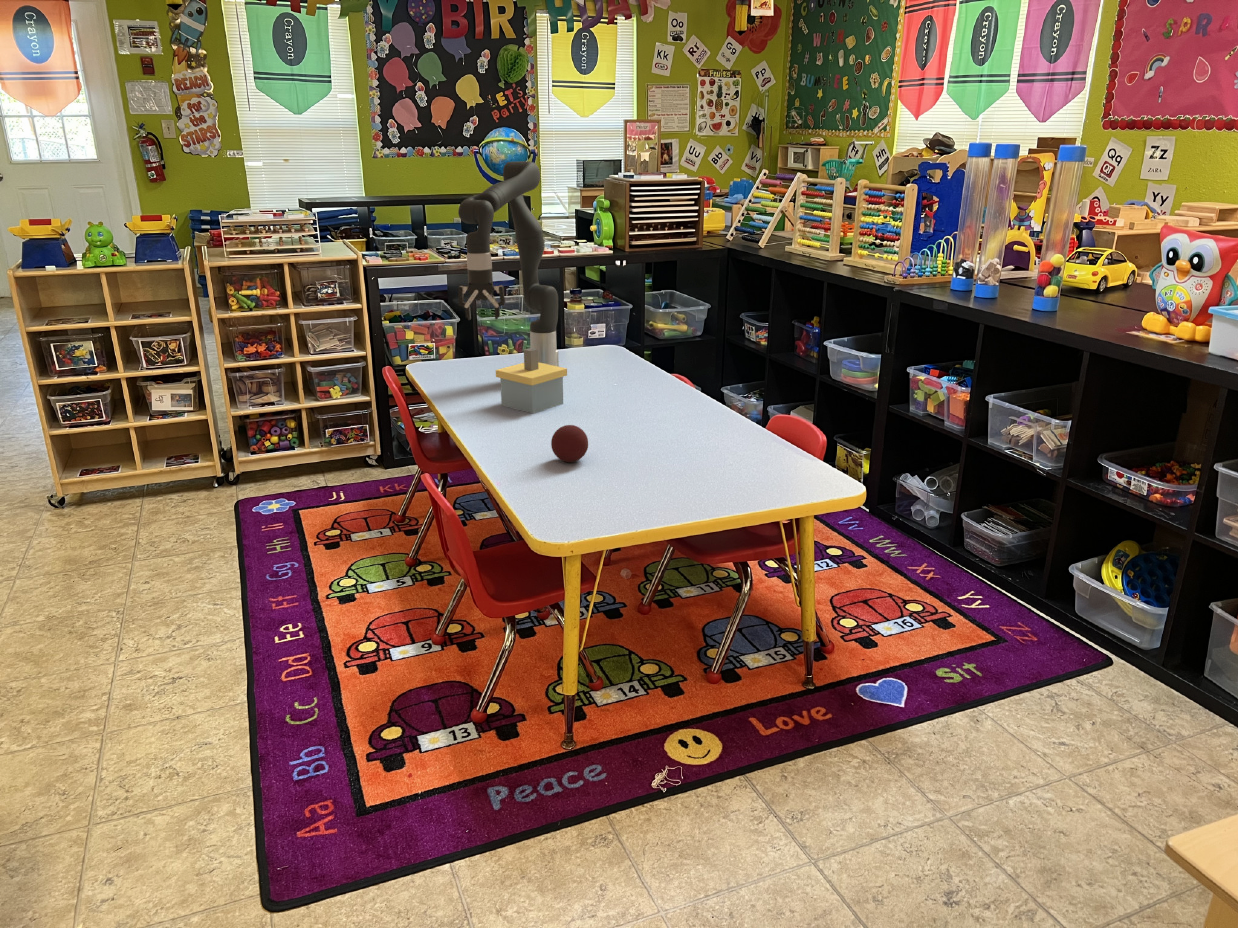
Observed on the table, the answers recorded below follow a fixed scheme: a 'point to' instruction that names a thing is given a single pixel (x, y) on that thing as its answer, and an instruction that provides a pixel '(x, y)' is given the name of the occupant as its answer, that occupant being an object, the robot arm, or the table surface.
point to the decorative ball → (569, 443)
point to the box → (532, 395)
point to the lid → (531, 370)
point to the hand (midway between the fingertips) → (482, 319)
